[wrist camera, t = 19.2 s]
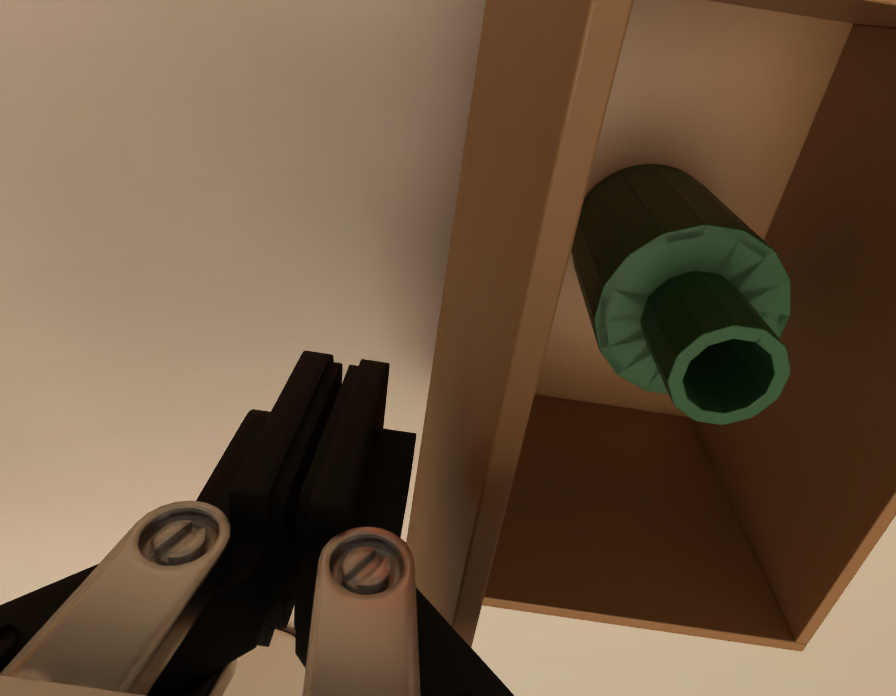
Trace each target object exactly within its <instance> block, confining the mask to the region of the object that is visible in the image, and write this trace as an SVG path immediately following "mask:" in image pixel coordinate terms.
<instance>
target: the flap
mask: <svg viewBox="0 0 896 696" xmlns="http://www.w3.org/2000/svg"><path fill="white" fill-rule="evenodd" d="M633 2H634V0H486V6H485V12H484V19H483V26H482V33H481V40H480V46H479V53H478V60H477V67H476V74H475V80H474V87H473V94H472V101H471V108H470V114H469V121H468V128H467V135H466V141H465V148H464V155H463V162H462V169H461V175H460V182H459V189H458V196H457V203H456V209H455V216H454V223H453V230H452V237H451V243H450V250H449V257H448V264H447V271H446V277H445V284H444V291H443V298H442V305H441V311H440V318H439V325H438V332H437V338H436V345H435V352H434V359H433V366H432V372H431V379H430V386H429V393H428V400H427V406H426V413H425V420H424V427H423V434H422V440H421V447H420V454H419V461H418V468H417V474H416V481H415V488H414V495H413V502H412V508H411V515H410V522H409V529H408V536H407V542H406V544H407V546H408V547H409V549H410V550H411V552H412V555H413V559H414V563H415V582H416V587H417V589H418V590H419V591H420V592H421V593H422V594H423V595H424V596H425V597H426V599H427V600H428V601H429V602H430V603H431V604H432V605H433V606H434V607H435V608H436V610H437V611H438V612H439V613H440V614H441V615H442V616H443V617H444V618H445V620H446V621H447V622H448V623H449V624H450V625H451V626H452V627H453V628H454V630H455V631H456V632H457V633H458V634H459V635H460V636H461V637H462V638H463V639H464V641H465V642H466V643H467V644H468V645H469V646H470V647H471V646H472V642H473V638H474V634H475V630H476V626H477V622H478V618H479V614H480V610H481V606H482V602H483V598H484V594H485V590H486V586H487V582H488V578H489V575H490V571H491V567H492V563H493V559H494V555H495V551H496V547H497V543H498V539H499V535H500V531H501V527H502V523H503V519H504V515H505V511H506V507H507V503H508V499H509V495H510V491H511V487H512V483H513V479H514V475H515V471H516V467H517V463H518V459H519V455H520V451H521V447H522V443H523V439H524V435H525V431H526V427H527V423H528V419H529V415H530V411H531V408H532V404H533V400H534V396H535V392H536V388H537V384H538V380H539V376H540V372H541V368H542V364H543V360H544V356H545V352H546V348H547V344H548V340H549V336H550V332H551V328H552V324H553V320H554V316H555V312H556V308H557V304H558V300H559V296H560V292H561V288H562V284H563V280H564V276H565V272H566V268H567V264H568V260H569V256H570V252H571V248H572V244H573V241H574V237H575V233H576V229H577V225H578V221H579V217H580V213H581V209H582V205H583V201H584V197H585V193H586V189H587V185H588V181H589V177H590V173H591V169H592V165H593V161H594V157H595V153H596V149H597V145H598V141H599V137H600V133H601V129H602V125H603V121H604V117H605V113H606V109H607V105H608V101H609V97H610V93H611V89H612V85H613V81H614V77H615V74H616V70H617V66H618V62H619V58H620V54H621V50H622V46H623V42H624V38H625V34H626V30H627V26H628V22H629V18H630V14H631V10H632V6H633Z"/></svg>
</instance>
